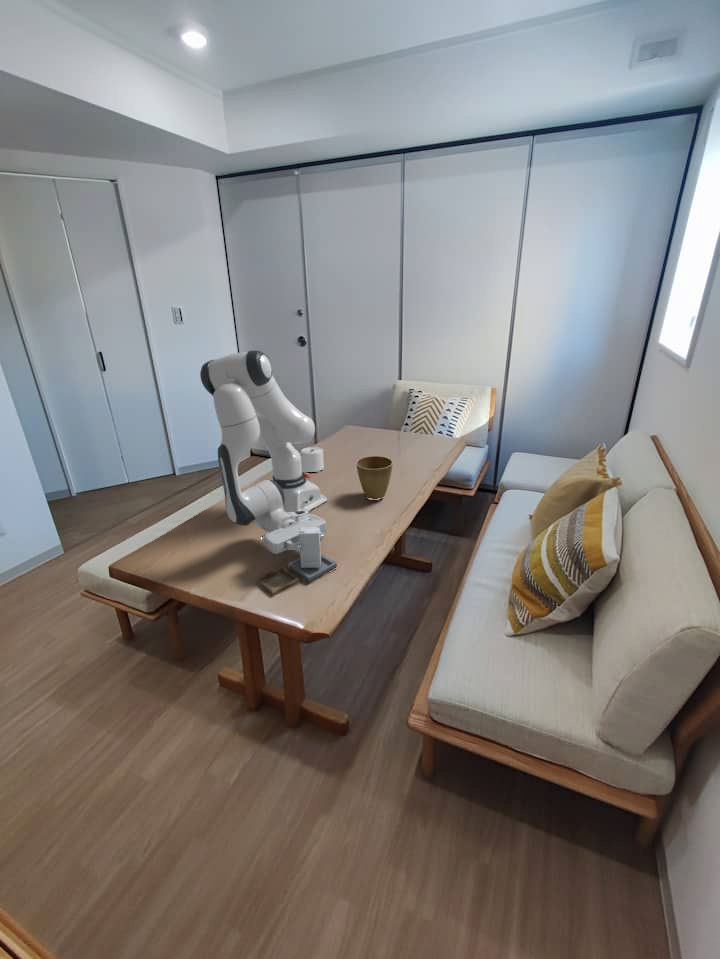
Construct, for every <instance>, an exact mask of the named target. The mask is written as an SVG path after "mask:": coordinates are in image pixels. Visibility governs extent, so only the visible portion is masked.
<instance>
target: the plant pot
mask: <svg viewBox="0 0 720 959" xmlns="http://www.w3.org/2000/svg"><path fill="white" fill-rule="evenodd" d="M355 465H356V470H357V476H358V478H359V479H358V480H359V482H360V486H361V488H362V492H363V493H364V496H365V498H366V497H368V498H372V499H378V498H382V497H384V498H385V495H386V493H387V490H388V487H389V484H390V481H391V475H392V470H393V460H392V459H391V458H390V457H387V456H380V455H370V456H364V457H361V458H359V459H357V461H356V462H355Z"/></svg>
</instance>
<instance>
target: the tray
mask: <svg viewBox="0 0 720 959" xmlns="http://www.w3.org/2000/svg"><path fill="white" fill-rule="evenodd" d="M337 564H338V563H336V562H335V561H334V560H332V559H330V558H329V557H327V556H326V555H323V554H322V553H321V567H320V568H301V557H299V558H297V559H294V560H293V561H291V562H289V563H287V565H288V566H287V567H288V568H287V570H288V571H291V572H292V573H293V572H294V574H295V575H296V574H297V575H296V576H298V577H299V578H301V580H303V581H305V582H306V583H308V584H310V585H311V584H312V583H314V582H316V581H317V579H318V578H319V579H321V578H322V577H321V576H323V575H324V574H326V573H328V572H329V571H331V570H333V569H334V568H336V567H337V568H338V565H337ZM328 574H329V573H328ZM320 577H321V578H320ZM323 577H324V576H323ZM319 579H318V580H319ZM315 580H316V581H315ZM313 581H314V582H313Z"/></svg>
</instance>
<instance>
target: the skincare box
mask: <svg viewBox="0 0 720 959" xmlns="http://www.w3.org/2000/svg"><path fill="white" fill-rule="evenodd" d="M299 540H300V544H302V546H303V547H302V548H303V550H301V551H299V554H300V557H301V568H320V567H321V554H322V551H321V548H322V547H321V541H320V527H301V528H300V532H299ZM300 557H299V558H300Z"/></svg>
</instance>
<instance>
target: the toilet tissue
mask: <svg viewBox="0 0 720 959" xmlns="http://www.w3.org/2000/svg"><path fill="white" fill-rule="evenodd" d="M299 454H300V456H301V466H302V472H314V471H319V470H322V469H323V468H324V469H325V466H324V462H325V461H324V459H325V458H324V449H323V448H322V447H319V446H308V447H303V448H302V449H301V450H300V453H299Z"/></svg>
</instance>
